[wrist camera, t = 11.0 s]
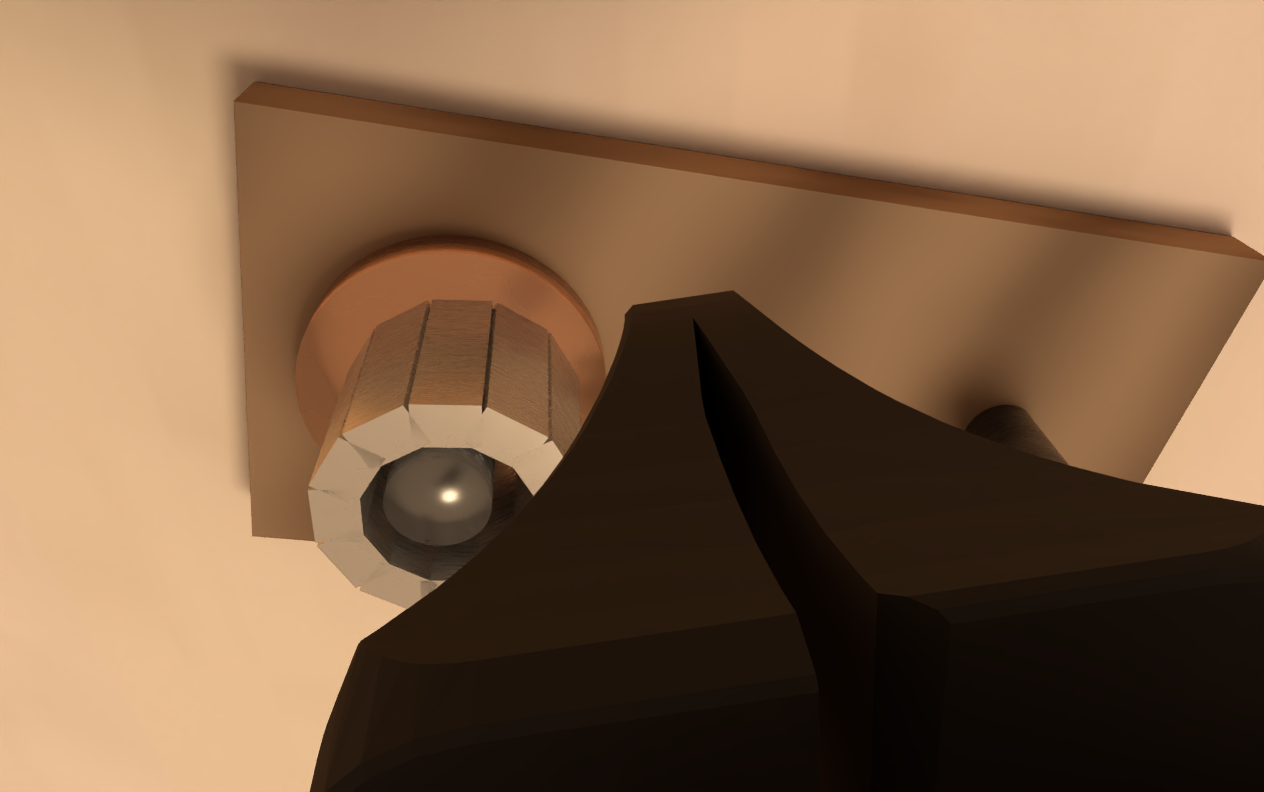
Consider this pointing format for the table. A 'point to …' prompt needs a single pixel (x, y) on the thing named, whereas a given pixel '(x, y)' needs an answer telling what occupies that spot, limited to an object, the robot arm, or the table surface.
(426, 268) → the hub
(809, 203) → the walnut board
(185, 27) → the table surface
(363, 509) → the steel collar
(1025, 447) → the stand rod
